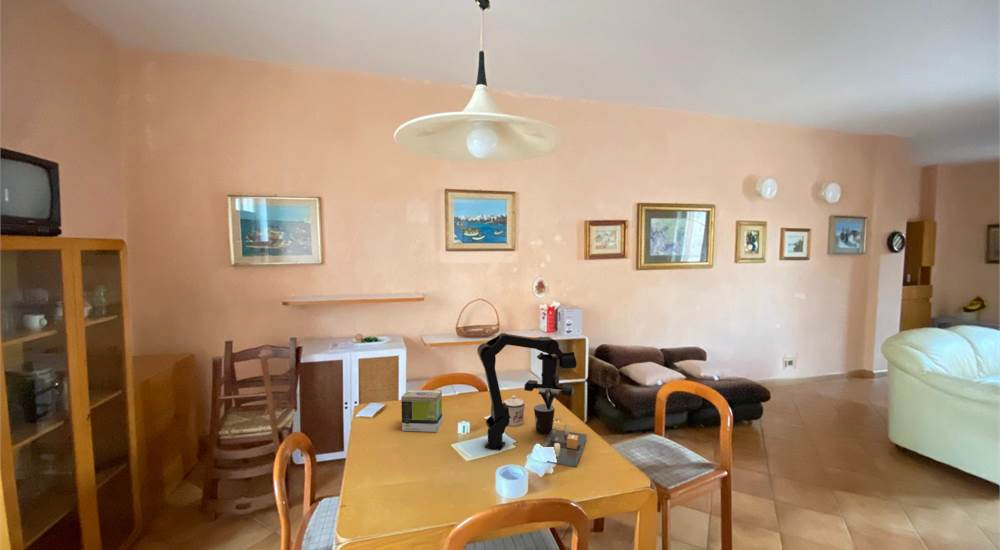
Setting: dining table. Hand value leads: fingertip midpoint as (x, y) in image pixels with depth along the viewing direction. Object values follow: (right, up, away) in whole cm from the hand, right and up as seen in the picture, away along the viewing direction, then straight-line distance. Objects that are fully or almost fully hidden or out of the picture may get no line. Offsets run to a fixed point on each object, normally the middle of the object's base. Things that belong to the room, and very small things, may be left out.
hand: (548, 409), depth 163 cm
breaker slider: (+8, -10, -10) cm, 16 cm away
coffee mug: (-1, -12, +10) cm, 16 cm away
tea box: (-52, -12, +13) cm, 55 cm away
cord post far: (+7, -10, -1) cm, 12 cm away
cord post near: (+1, -11, -17) cm, 20 cm away
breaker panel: (+4, -13, -7) cm, 16 cm away
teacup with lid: (-12, -12, +19) cm, 26 cm away
